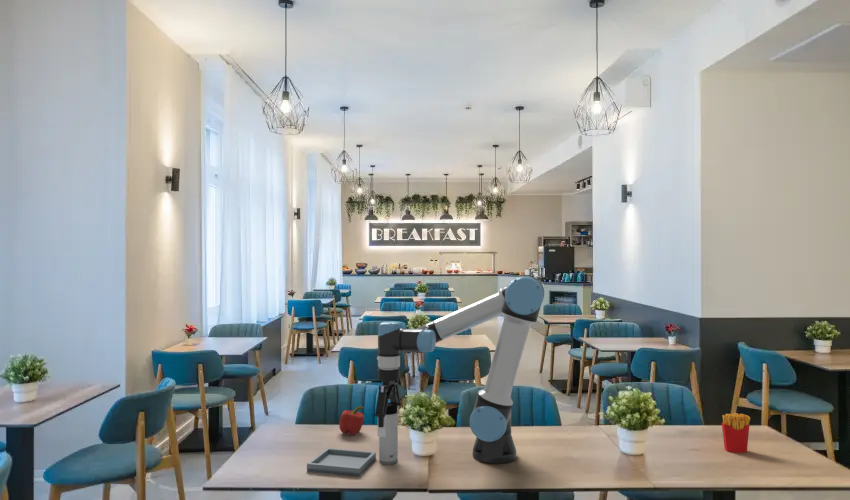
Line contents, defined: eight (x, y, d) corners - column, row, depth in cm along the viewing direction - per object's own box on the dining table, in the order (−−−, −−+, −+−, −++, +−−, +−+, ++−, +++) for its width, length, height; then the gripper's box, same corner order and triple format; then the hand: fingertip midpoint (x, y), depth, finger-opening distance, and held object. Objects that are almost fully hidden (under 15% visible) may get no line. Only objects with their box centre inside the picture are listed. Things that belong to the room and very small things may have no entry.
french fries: (725, 452, 203) (725, 415, 204) (720, 448, 208) (720, 412, 208) (752, 453, 203) (752, 416, 203) (746, 449, 207) (746, 412, 207)
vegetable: (356, 427, 234) (356, 403, 235) (371, 433, 227) (371, 408, 227) (333, 432, 228) (333, 407, 228) (347, 439, 220) (347, 412, 220)
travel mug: (396, 465, 191) (395, 405, 191) (376, 464, 192) (376, 404, 193) (400, 459, 197) (400, 400, 198) (382, 457, 199) (382, 399, 199)
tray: (375, 459, 197) (376, 452, 197) (359, 476, 182) (359, 468, 182) (327, 455, 202) (327, 447, 202) (306, 471, 186) (306, 463, 186)
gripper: (389, 360, 208) (389, 419, 208) (365, 374, 184) (364, 440, 184) (409, 361, 206) (409, 421, 206) (387, 375, 182) (387, 442, 182)
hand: (388, 430), depth 195 cm, fingers open, 13 cm apart
